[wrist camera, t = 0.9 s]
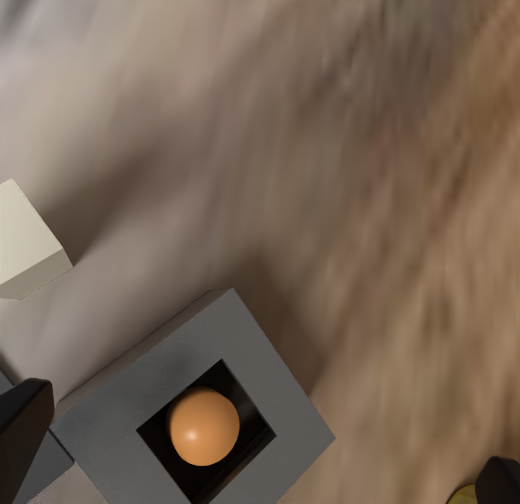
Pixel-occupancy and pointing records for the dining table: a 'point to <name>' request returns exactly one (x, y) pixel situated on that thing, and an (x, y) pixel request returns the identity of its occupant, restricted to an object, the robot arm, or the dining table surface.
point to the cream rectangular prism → (26, 246)
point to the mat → (40, 460)
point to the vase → (464, 496)
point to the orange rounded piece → (202, 425)
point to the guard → (169, 386)
